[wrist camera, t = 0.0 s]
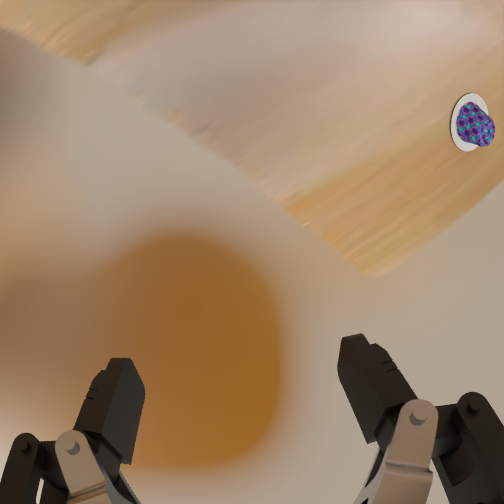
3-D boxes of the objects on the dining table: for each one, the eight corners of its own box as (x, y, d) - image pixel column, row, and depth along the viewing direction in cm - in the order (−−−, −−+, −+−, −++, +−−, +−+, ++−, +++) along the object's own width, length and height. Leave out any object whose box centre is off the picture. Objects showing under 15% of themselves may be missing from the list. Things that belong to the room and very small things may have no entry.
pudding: (439, 113, 33) (460, 124, 29) (475, 81, 27) (495, 90, 24) (459, 160, 39) (475, 174, 35) (491, 129, 34) (508, 140, 30)
